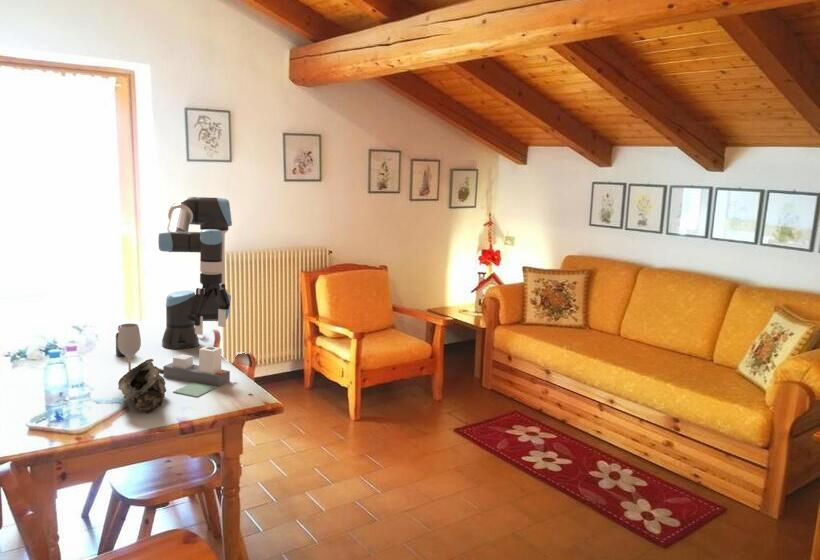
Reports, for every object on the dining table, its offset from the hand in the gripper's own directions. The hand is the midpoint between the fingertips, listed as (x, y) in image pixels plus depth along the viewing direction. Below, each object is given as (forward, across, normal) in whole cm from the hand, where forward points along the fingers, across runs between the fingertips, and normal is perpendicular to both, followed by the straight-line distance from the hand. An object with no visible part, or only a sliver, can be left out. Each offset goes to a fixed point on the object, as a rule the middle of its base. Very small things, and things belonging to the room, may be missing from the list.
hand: (210, 330), depth 233 cm
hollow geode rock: (+20, +28, -6) cm, 35 cm away
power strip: (+19, 0, -10) cm, 22 cm away
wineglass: (+20, +14, -24) cm, 34 cm away
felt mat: (+20, +10, +1) cm, 22 cm away
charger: (+17, 0, 0) cm, 17 cm away
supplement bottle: (+19, -11, -49) cm, 54 cm away
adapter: (+17, 0, -12) cm, 21 cm away
